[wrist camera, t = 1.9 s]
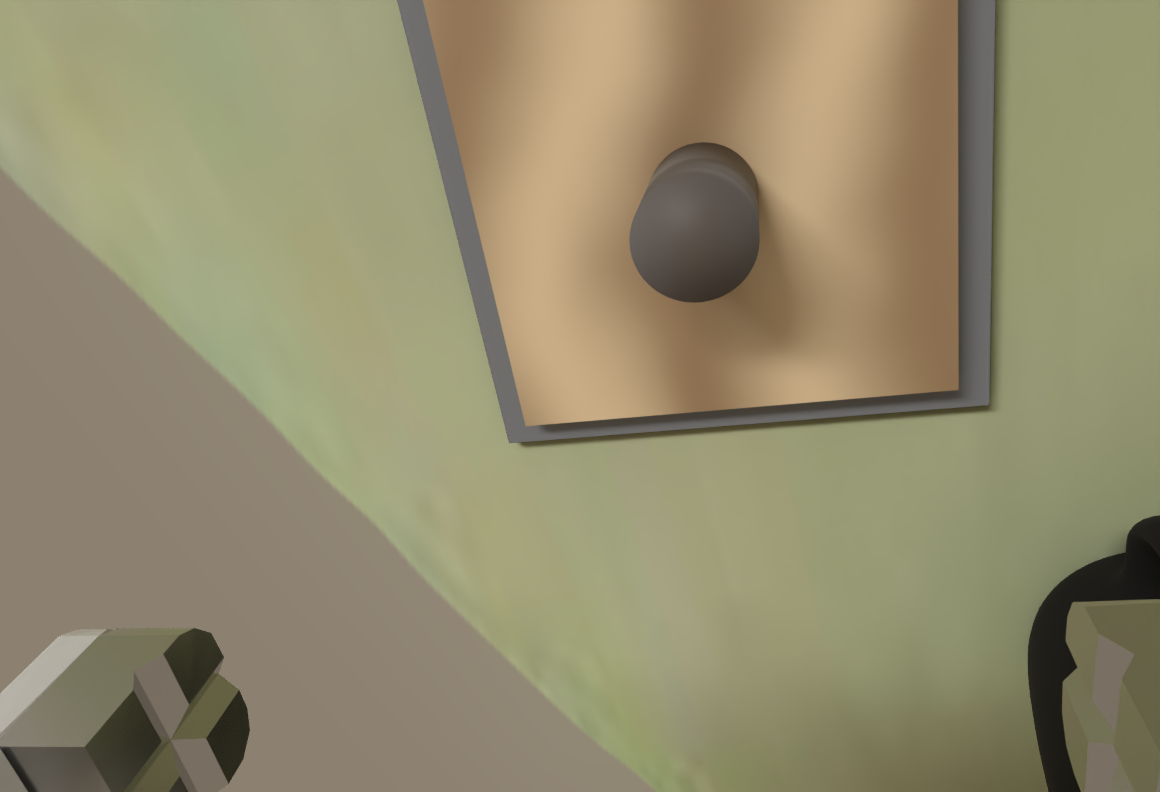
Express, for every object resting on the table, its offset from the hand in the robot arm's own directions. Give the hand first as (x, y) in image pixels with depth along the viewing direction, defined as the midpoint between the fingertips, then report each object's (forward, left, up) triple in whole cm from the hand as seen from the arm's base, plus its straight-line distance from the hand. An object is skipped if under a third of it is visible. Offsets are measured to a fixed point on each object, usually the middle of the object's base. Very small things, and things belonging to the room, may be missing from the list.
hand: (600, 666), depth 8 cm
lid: (0, 0, -18) cm, 18 cm away
